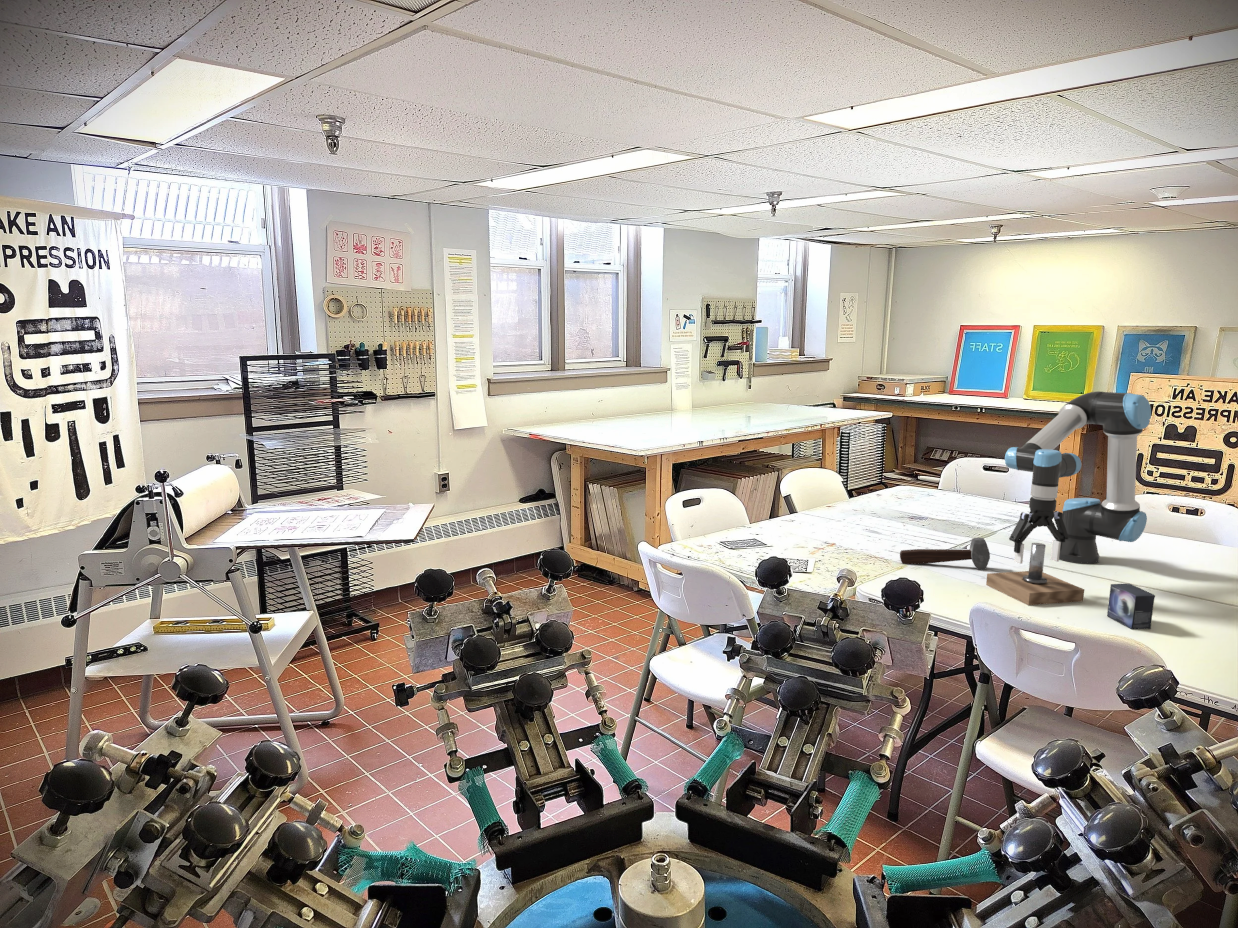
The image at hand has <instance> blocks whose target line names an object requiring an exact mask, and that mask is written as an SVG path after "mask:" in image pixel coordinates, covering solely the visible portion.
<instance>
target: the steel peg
mask: <svg viewBox="0 0 1238 928" xmlns="http://www.w3.org/2000/svg"><path fill="white" fill-rule="evenodd" d="M1046 547H1047V546H1046V544H1044V543H1040V542H1031V547H1030V548H1031V549H1030V554H1029V556H1030V557H1029V564H1028V565H1029V566H1028V571H1029V574H1028V575H1025V576H1023V581H1025V582H1027V583H1030V584H1036V585H1044V584H1047V579H1046V578H1043V577H1042V574H1043V572H1044V564H1045V553H1046Z"/></svg>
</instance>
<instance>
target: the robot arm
mask: <svg viewBox="0 0 1238 928" xmlns="http://www.w3.org/2000/svg"><path fill="white" fill-rule="evenodd" d="M1151 419H1152V408H1151V404H1150V401H1149V400H1148V399H1147V398H1146V396H1145V395H1142V394H1135V393H1131V392H1129V393H1128V392H1115V391H1113V392H1111V391H1107V392H1106V391H1099V390H1098V391H1091V392H1087V393H1084V394H1081V395H1080V396H1077V397H1075V398H1073V399H1071V400H1070V401H1068V402H1067V403H1065V404H1064V405H1063V406H1062V407H1061V408H1060V409H1059V411H1058V414H1057V415H1056V416H1055V417H1054V418H1053V419H1051V420H1050V422H1048V423H1047V424H1046V425H1045V426H1043V428H1042V429H1041V430H1039V431H1038V432H1037V433H1036V434H1035V435H1033V436H1032V438H1030V439H1029V440H1027V442H1026V443H1024V445H1022V446H1021V447H1018V446H1015V447H1014V446H1013V447H1009V448H1008V449H1007V451H1006V452H1005V456H1004V462H1005V465H1006V467H1007V468H1009V469H1012V470H1016V471H1022V472H1030V473H1032V479H1031V487H1030V496H1031V497H1030V498H1029V504H1028V505H1029V506H1028V507H1029V513H1026V512H1021V513H1020V516H1019V519H1018V521H1017V523H1016V525H1015V527H1014V528H1013V530H1012V532H1011V534H1010V536H1009V537H1008V540H1009V541H1011V542H1014V546H1013V547H1014V548H1013V552H1014V562H1015V563H1017V564H1020V565H1021V564H1023V561H1024V560H1023V559H1024V549H1025V543H1023V542H1025V540H1027V537H1029V535H1031V533H1032V532H1033V531H1034V529H1036V528H1038V527H1039V528H1040V527H1047V529H1048V531H1049V532H1050V534H1051V535H1052V536H1053V538H1054V539H1052V541H1051V542H1052V543H1051V552H1050V553H1051V554H1050V560H1051V561H1054V562H1059V561H1060V560H1062V561H1065V562H1068V563H1069V562H1070V563H1076V564H1083V565H1084V564H1087V565H1088V564H1090V565H1091V564H1097V563H1099V561H1100V553H1099V552H1098V551H1099V550H1098V545H1097V536H1098V537H1101V538H1107V539H1111V540H1114V541H1115V540H1116V541H1119V542H1126V543H1127V542H1128V543H1134V542H1135V541H1137V540H1139V538H1141V536H1142V535H1143V532H1144V530H1145V528H1146V527H1147V526H1146V525H1147V521H1148V516H1147V513H1146V512H1144V511H1142V510H1141V505H1140V503H1139V502H1138V501H1137V500H1136V483H1137V482H1136V478H1137V454H1138V453H1137V452H1138V436H1139V435H1141V434H1142V433H1143V430H1144V429H1146V428H1147V427H1148V426H1149V424H1150V420H1151ZM1092 424H1093V425H1101V426H1102V431H1103V433H1104V434H1105V435H1106V436H1107V459H1106V460H1107V463H1106V464H1107V465H1106V466H1107V467H1106V468H1107V469H1106V470H1107V471H1106V499H1104V500H1103V501H1102V502H1101V500H1100V499H1099V498H1094V497H1075V498H1067V499H1066V500H1065V501H1064V503H1063V507H1062V512H1060V511H1057V509H1056V508H1057V498H1058V492H1059V491H1058V490H1059V482H1060V478H1068V477H1072V476H1075V475H1077V474H1078V473H1079V472H1080V471H1081V469H1082V460H1081V458H1080V457H1079V456H1078V455H1077V454H1075V453H1072V452H1071V453H1070V452H1064V453H1062V452H1061V451H1059V450H1056V448H1057V447H1058V446H1059V445H1060V444H1061V443H1062V442H1063V441H1064V440H1066V439H1067V438H1068V437H1069V436H1070V435H1071V434H1072V433H1073V432H1074V431H1075V430H1079V429H1081V428H1083V427H1084V426H1085V425H1092Z"/></svg>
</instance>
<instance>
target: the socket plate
mask: <svg viewBox="0 0 1238 928" xmlns="http://www.w3.org/2000/svg"><path fill="white" fill-rule="evenodd" d="M1028 574H1029V570H1027V571H1026V570H1025V571H1024V570H1022V571H1008V572H1006V571H1005V572H990V573H989V572H988V573H986V583H985V585H986V586H987V587H989V588H992V589H994V590H996V591H997V592H1000V593H1003V594H1004V595H1006V596H1007V597H1011V599H1012V598H1013V599H1014V600H1017V601H1019V602H1020V603H1023V604H1024V605H1027V606H1037V605H1038V606H1040V605H1041V606H1042V605H1052V604H1053V605H1054V604H1064V603H1065V604H1067V603H1080V602H1081V603H1082V602H1084V598H1085V596H1084V595H1085V589H1084V588H1082V587H1079V586H1077V585H1075V584H1072V583H1070V582H1068V581H1066V580H1063V579H1061V578H1058V577H1055V576H1053V575H1051V574H1048V573H1046V572H1044V571H1043V574H1042V577H1043V578H1046V579H1047V584H1044V585H1036V584H1030V583H1027V582H1025V581H1023V576H1025V575H1028Z"/></svg>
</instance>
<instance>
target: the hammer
mask: <svg viewBox="0 0 1238 928" xmlns="http://www.w3.org/2000/svg"><path fill="white" fill-rule="evenodd" d="M899 558H900V562H901V563H902V565H925V564H937V563H938V564H939V563H948V562H959V561H960V562H961V561H967V560H971V562H972V564H973V565H974V567H975V569H976V570H978V571H985V570H986V569H987V567H988V565H989V563H990V559H991V553H990V550H989V546H988V544H987V542H986V540H985V537H974V538H973V537H972V539H971V542H970V545H969V549H959V548H958V549H955V548H953V549H945V548H943V549H941V548H934V549H933V548H927V549H926V548H920V549H919V548H915V549H902V550H901V549H900V552H899Z"/></svg>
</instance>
